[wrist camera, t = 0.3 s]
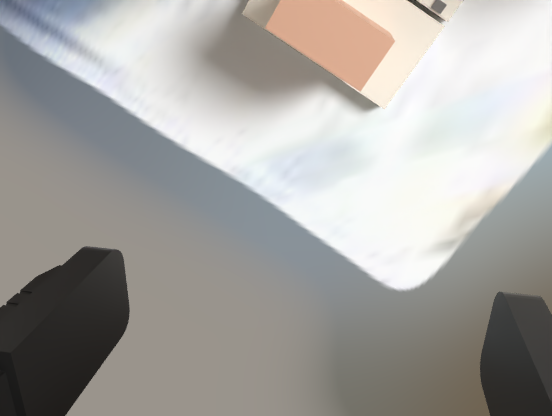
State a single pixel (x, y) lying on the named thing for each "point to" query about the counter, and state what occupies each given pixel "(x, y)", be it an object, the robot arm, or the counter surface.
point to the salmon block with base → (353, 38)
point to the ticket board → (442, 7)
